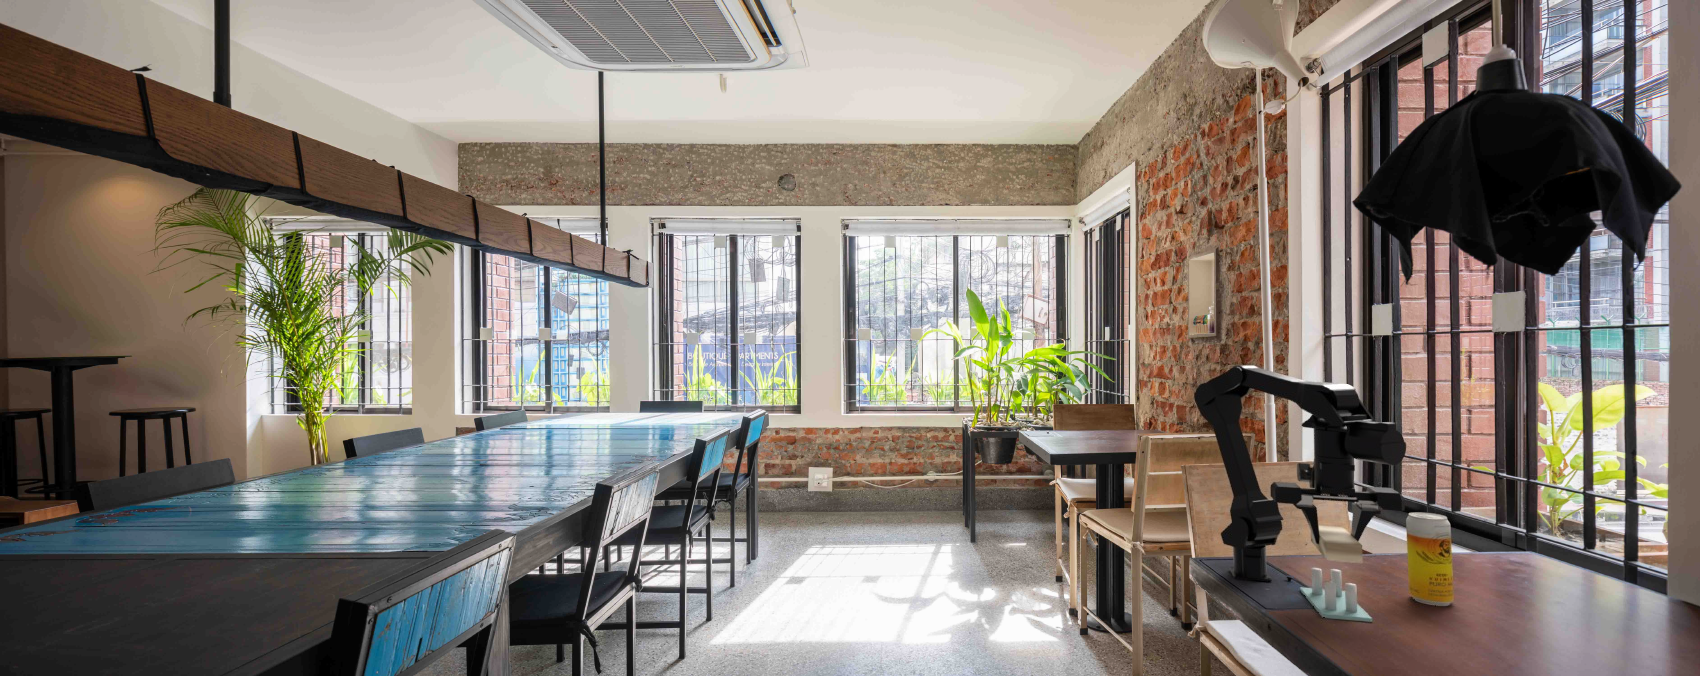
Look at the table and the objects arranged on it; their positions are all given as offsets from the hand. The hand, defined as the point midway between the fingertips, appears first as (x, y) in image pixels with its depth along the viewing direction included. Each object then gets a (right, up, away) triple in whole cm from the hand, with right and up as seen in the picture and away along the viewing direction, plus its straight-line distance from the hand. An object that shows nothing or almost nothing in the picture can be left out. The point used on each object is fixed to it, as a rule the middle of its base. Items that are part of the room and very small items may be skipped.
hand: (1335, 544), depth 123 cm
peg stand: (0, -11, 0) cm, 11 cm away
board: (0, -1, 0) cm, 1 cm away
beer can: (+18, -11, +1) cm, 21 cm away
